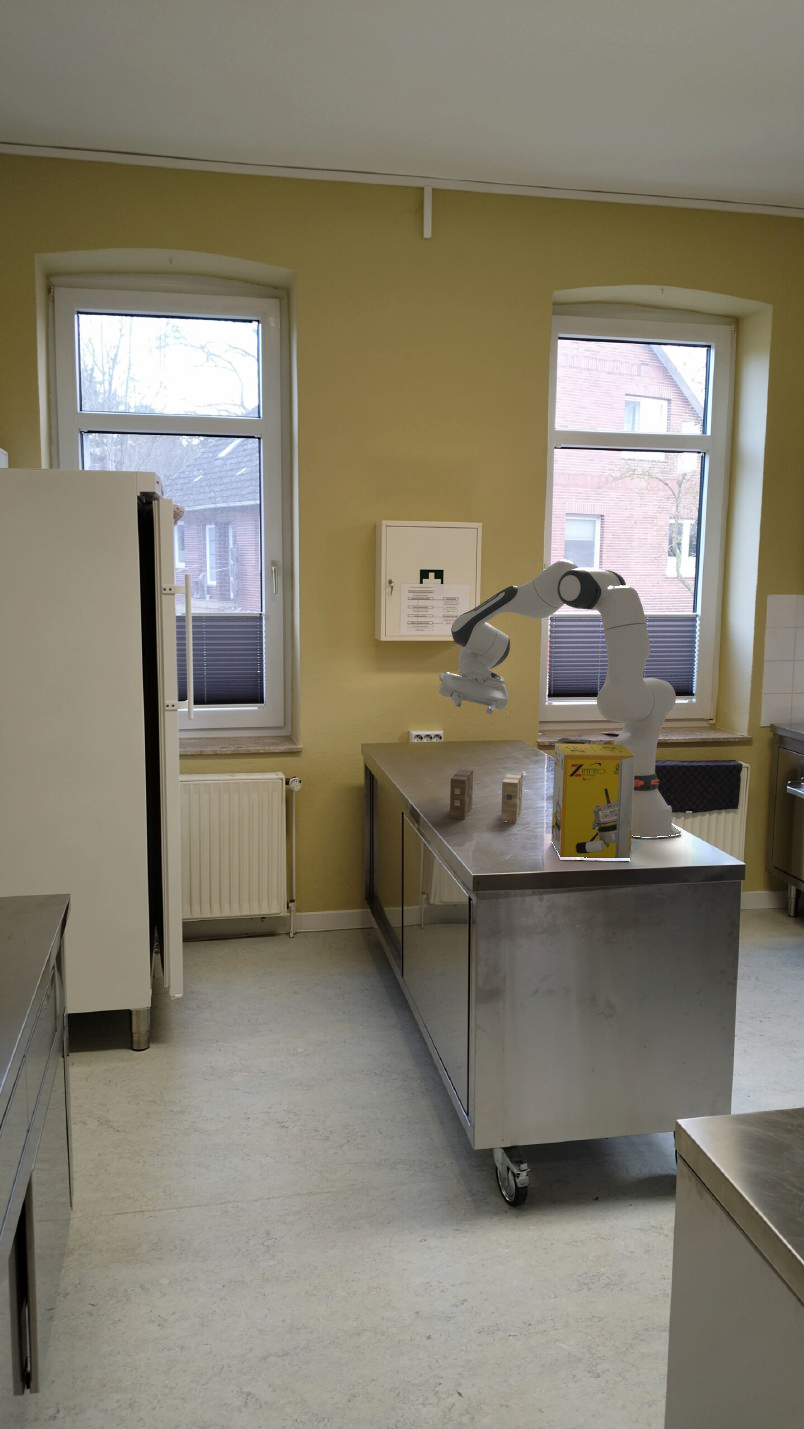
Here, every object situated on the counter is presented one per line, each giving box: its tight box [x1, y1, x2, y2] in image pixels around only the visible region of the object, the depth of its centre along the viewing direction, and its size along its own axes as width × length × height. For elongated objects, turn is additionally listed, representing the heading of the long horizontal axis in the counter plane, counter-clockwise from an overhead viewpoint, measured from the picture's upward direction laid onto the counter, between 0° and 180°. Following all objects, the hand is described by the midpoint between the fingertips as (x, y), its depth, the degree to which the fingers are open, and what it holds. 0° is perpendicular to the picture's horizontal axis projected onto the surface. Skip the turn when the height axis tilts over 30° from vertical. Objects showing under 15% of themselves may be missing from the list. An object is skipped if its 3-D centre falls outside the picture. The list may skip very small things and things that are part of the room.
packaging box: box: [550, 743, 635, 859], centre depth 240 cm, size 16×16×25 cm
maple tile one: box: [500, 771, 524, 823], centre depth 276 cm, size 14×4×11 cm, turn 167°
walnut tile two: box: [449, 769, 474, 820], centre depth 279 cm, size 14×4×11 cm, turn 167°
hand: (474, 708), depth 288 cm, fingers open, 8 cm apart
